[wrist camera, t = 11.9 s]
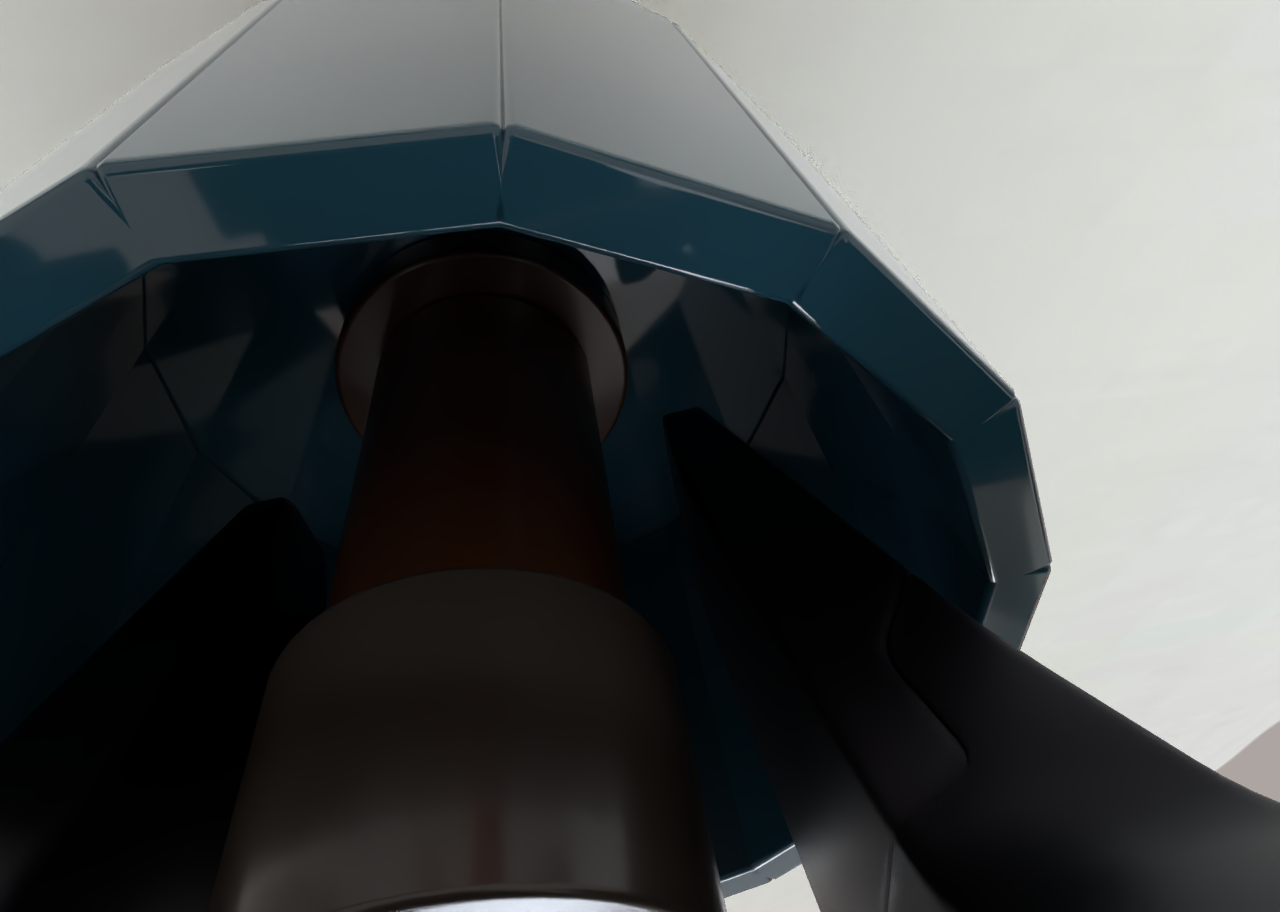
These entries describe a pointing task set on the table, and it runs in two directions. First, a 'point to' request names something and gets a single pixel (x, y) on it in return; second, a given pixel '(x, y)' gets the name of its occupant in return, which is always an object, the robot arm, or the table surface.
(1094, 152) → the table surface
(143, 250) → the faceted blue grey bowl
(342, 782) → the flanged grey cylinder
